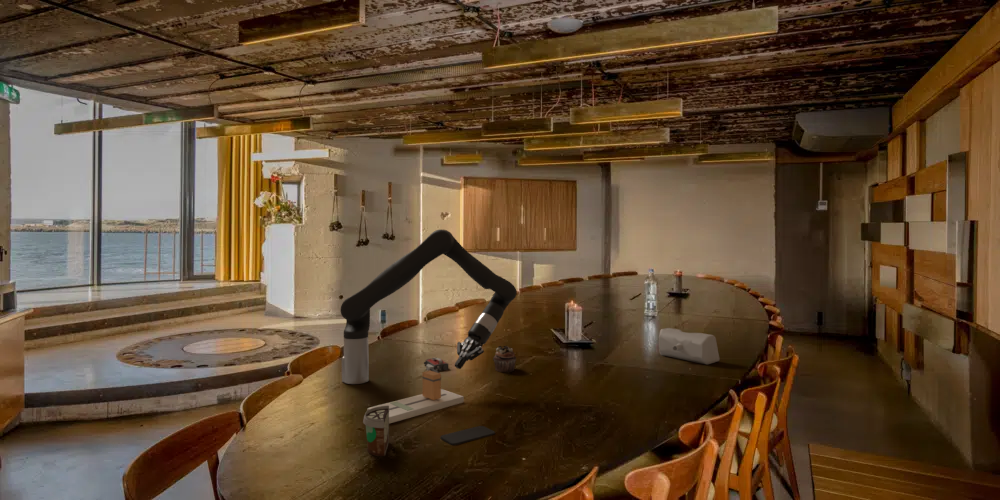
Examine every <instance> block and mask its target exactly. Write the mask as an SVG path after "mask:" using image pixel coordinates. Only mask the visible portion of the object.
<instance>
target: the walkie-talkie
mask: <svg viewBox="0 0 1000 500" xmlns="http://www.w3.org/2000/svg"><path fill="white" fill-rule="evenodd" d="M423 364H424V365H425V368H426V370H425V371H434V372H437V373H440V372H442V371H449V363H447V362H446V361H444V360H443V359H442V358H439V357H438V356H437V357H432V358H427V359H425V361H423Z"/></svg>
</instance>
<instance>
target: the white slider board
mask: <svg viewBox="0 0 1000 500" xmlns="http://www.w3.org/2000/svg"><path fill="white" fill-rule="evenodd" d="M464 398H465V396H463V395H460V394H458V393H455V392H452V391H448V390H445V389H443V388H441V398H439V399H435V400H432V399H429V398H427V397H424V396H423V393H421V394H417V395H413V396H410V397H406V398H401V399H398V400H397V399H396V400H395V401H390V402H386V403H382V404H378V405H374V406H371V407H368V408H366V409H367V410H366V412H367V411H368V410H370V409H372V408H375V407H379V406H389V425H390V424H392V423H396V422H400V421H403V420H407V419H410V418H413V417H418V416H420V415H424V414H427V413H430V412H434V411H438V410H441V409H445V408H448V407H452V406H456V405H458V404H462V403H464Z"/></svg>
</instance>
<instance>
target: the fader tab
mask: <svg viewBox="0 0 1000 500" xmlns="http://www.w3.org/2000/svg"><path fill="white" fill-rule="evenodd" d="M421 375H422V376H421V379H422V388H421V389H422V390H421V391H422V394H423V396H424V397H427V398H429V399H432V400H435V399H439V398H441V389H442V374H441V373H440V372H439V373H437V372H434V371H428V370H425V371H422V373H421Z"/></svg>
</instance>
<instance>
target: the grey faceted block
mask: <svg viewBox="0 0 1000 500" xmlns="http://www.w3.org/2000/svg"><path fill="white" fill-rule="evenodd" d="M718 349H719V348H718V344H717V338H716V336H715V335H713V334H707V333H702V332H687V331H686V332H685V331H682V330H681V329H679V328H678V329H676V328H671V327H666V328H661V329H660V330H659V335H658V350H659V351H658V352H659V354H660V356H663V357H669V358H673V359H677V360H683V361H687V362H693V363H696V364H702V365H707V366H708V365H711V364H714V363H717V362H718V363H719V361H720V360H721V359H720V355H719V350H718Z"/></svg>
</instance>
